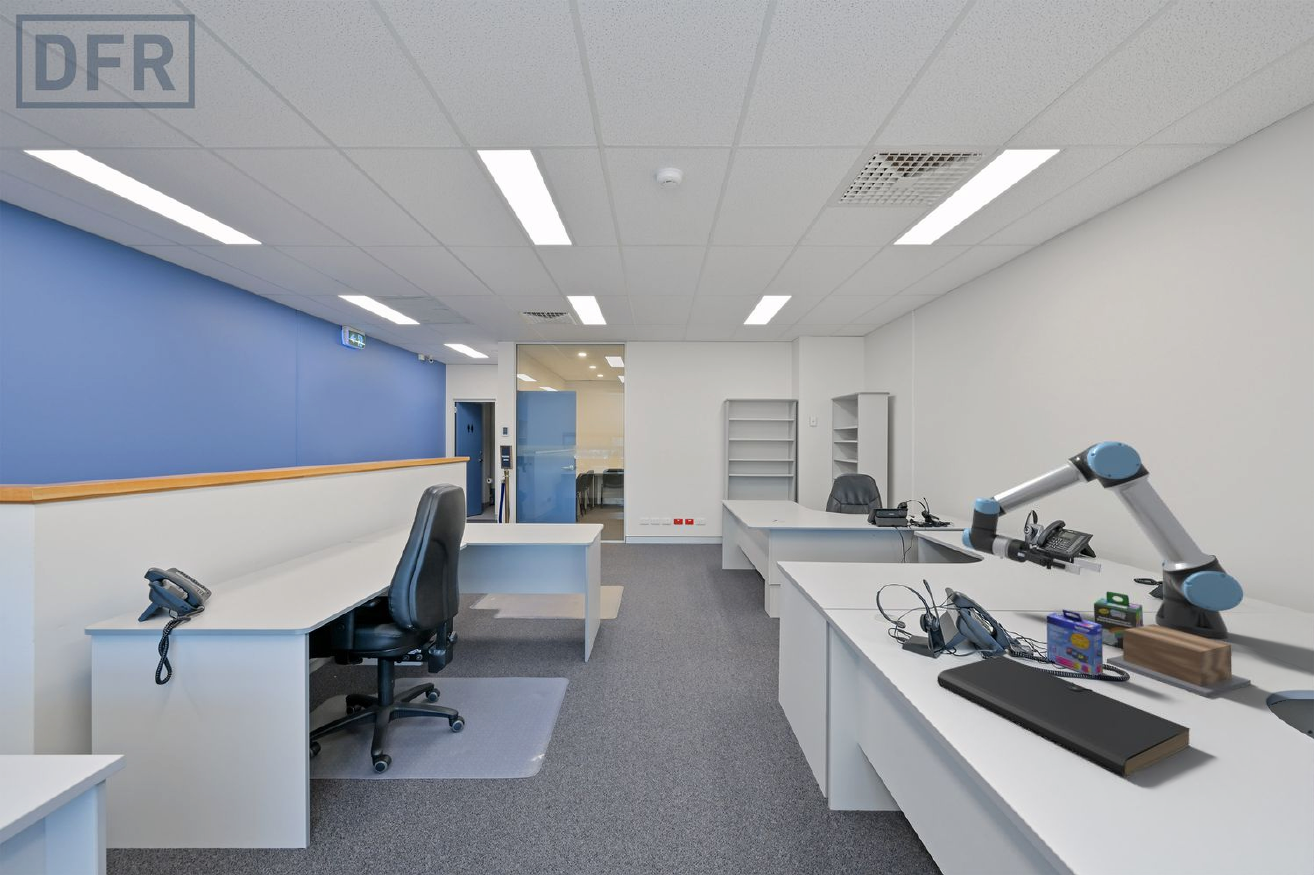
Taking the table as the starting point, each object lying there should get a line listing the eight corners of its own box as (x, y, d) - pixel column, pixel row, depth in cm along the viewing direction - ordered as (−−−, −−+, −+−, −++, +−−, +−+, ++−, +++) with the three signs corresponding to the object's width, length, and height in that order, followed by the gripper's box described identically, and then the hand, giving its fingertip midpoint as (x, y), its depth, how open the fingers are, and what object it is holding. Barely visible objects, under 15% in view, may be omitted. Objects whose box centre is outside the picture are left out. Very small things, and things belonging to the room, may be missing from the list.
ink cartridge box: (1045, 661, 122) (1045, 605, 122) (1055, 657, 125) (1055, 603, 125) (1093, 677, 113) (1093, 618, 114) (1103, 673, 116) (1103, 615, 116)
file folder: (1190, 726, 87) (1122, 758, 78) (1191, 748, 87) (1122, 783, 77) (1002, 653, 117) (937, 670, 108) (1002, 670, 117) (937, 688, 108)
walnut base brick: (1154, 653, 126) (1153, 624, 126) (1231, 677, 112) (1231, 644, 113) (1123, 660, 121) (1123, 629, 121) (1200, 686, 108) (1199, 651, 108)
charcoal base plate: (1150, 653, 128) (1150, 649, 129) (1250, 684, 112) (1250, 680, 112) (1106, 662, 122) (1106, 658, 122) (1206, 697, 105) (1205, 692, 105)
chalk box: (1144, 645, 134) (1143, 594, 134) (1138, 652, 129) (1137, 599, 129) (1100, 634, 142) (1100, 586, 142) (1093, 641, 136) (1093, 590, 137)
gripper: (1029, 558, 167) (1106, 578, 148) (990, 560, 155) (1068, 583, 136) (1032, 537, 166) (1109, 555, 147) (993, 539, 155) (1072, 558, 136)
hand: (1090, 569), depth 142 cm, fingers open, 13 cm apart
